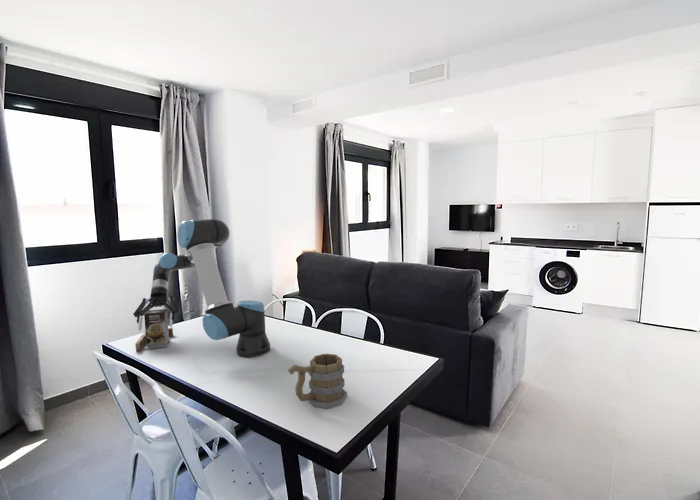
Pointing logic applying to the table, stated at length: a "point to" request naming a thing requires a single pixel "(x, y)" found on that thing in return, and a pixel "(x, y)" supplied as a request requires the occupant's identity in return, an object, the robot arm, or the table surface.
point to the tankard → (322, 381)
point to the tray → (142, 342)
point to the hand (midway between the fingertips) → (155, 327)
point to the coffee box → (156, 327)
